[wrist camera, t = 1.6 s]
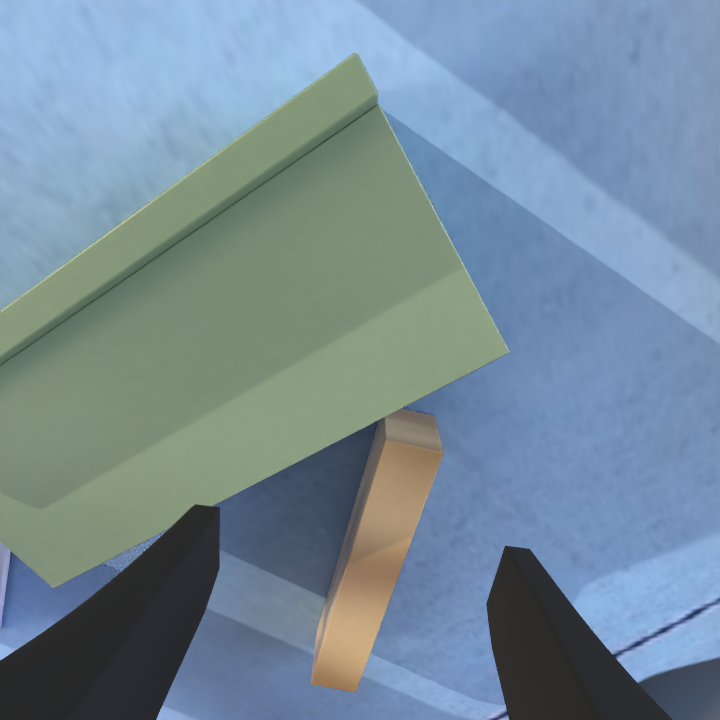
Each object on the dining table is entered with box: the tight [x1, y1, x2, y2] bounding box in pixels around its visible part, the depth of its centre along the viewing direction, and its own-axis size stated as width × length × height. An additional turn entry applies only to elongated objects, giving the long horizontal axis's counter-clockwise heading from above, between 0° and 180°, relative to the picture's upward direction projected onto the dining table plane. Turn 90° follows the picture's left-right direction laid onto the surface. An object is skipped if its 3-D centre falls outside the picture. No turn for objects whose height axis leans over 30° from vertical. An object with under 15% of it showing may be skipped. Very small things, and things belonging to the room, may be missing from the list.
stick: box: [311, 408, 444, 692], centre depth 22 cm, size 15×2×3 cm, turn 166°
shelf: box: [0, 53, 509, 588], centre depth 17 cm, size 20×9×6 cm, turn 121°
